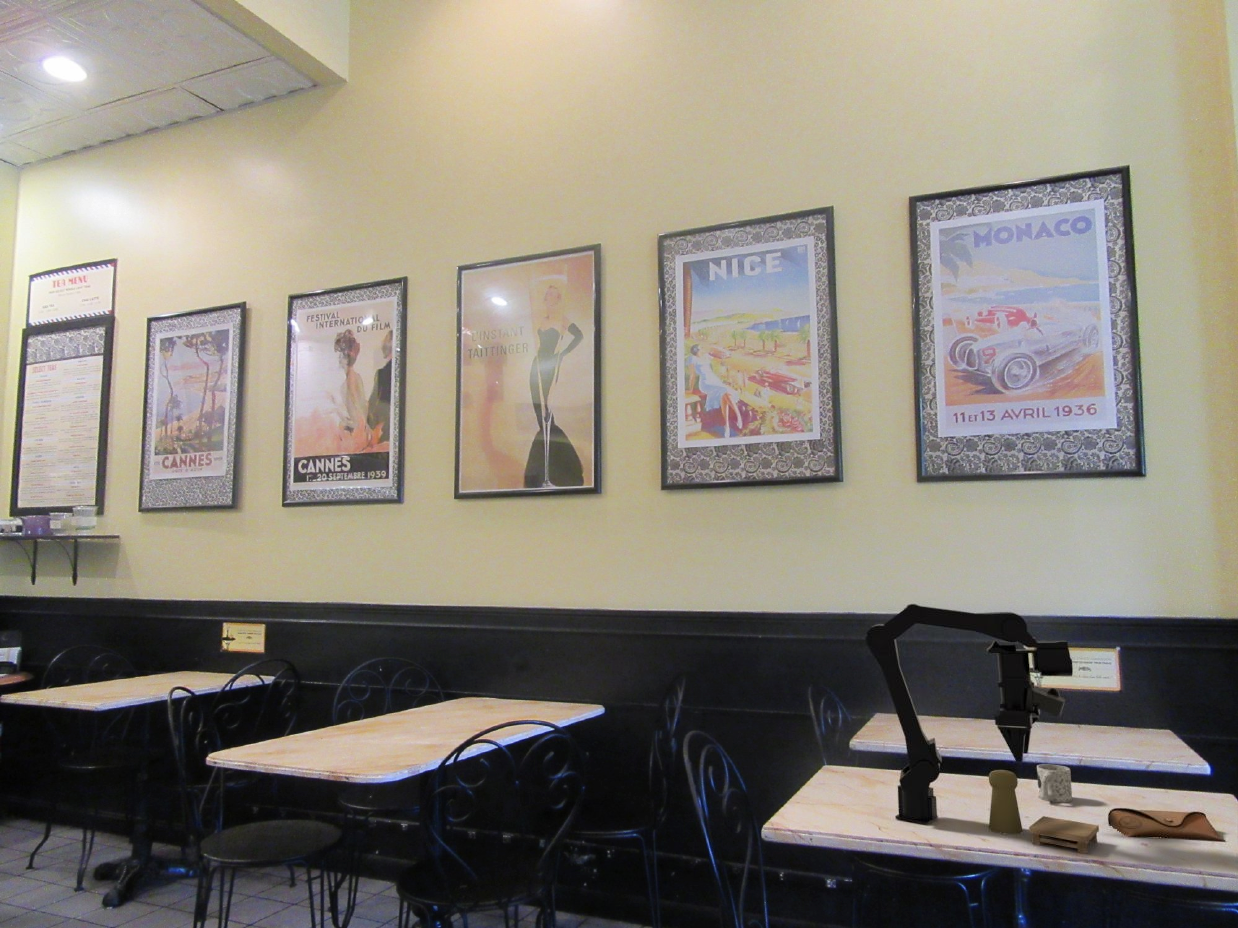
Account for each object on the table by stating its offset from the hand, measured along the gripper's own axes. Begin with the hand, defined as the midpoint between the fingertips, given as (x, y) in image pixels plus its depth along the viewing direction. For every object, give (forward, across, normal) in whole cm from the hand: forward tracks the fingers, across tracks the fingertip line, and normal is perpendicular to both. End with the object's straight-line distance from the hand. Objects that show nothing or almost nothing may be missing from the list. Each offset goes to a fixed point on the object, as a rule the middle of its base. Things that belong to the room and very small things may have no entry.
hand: (1022, 757), depth 170 cm
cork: (+14, -3, +4) cm, 14 cm away
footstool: (+14, -6, -7) cm, 16 cm away
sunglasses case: (+15, +11, -23) cm, 29 cm away
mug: (+14, +27, -2) cm, 30 cm away
